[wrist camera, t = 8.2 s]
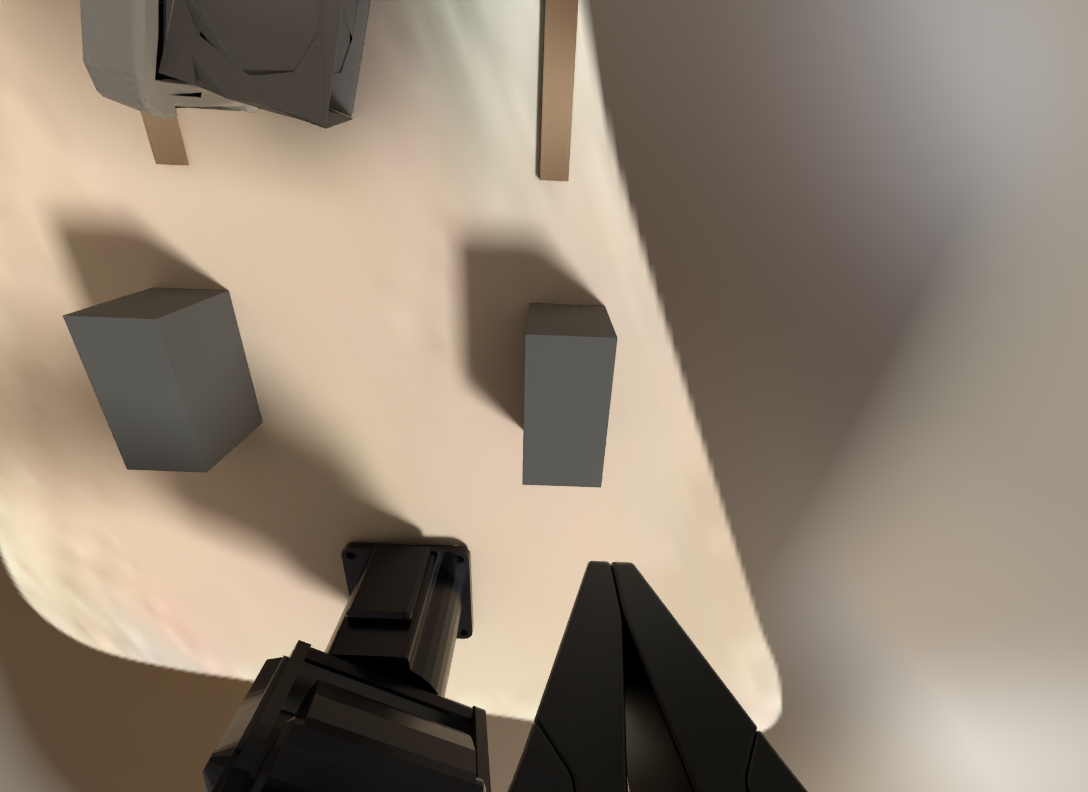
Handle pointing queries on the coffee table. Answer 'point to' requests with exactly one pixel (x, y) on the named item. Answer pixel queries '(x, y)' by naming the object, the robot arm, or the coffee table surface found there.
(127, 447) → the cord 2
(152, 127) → the bay
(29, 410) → the coffee table surface
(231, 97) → the electrical switch
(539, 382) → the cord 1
